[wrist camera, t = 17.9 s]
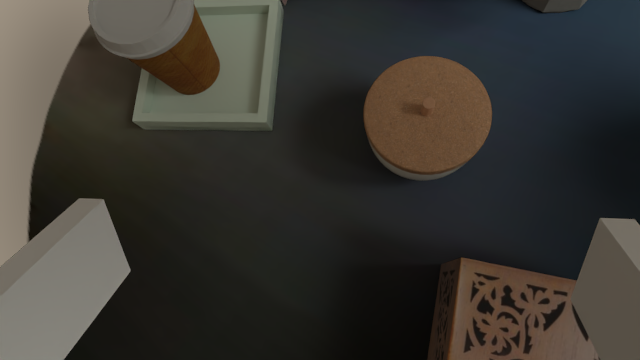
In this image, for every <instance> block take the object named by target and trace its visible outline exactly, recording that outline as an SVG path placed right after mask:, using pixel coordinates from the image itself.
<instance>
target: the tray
mask: <svg viewBox="0 0 640 360" xmlns="http://www.w3.org/2000/svg"><path fill="white" fill-rule="evenodd" d="M194 5H195V7H196V9H197V12H198V14H199V16H200V18H201V21H202V23H203V25H204V27H205V29H206V32H207V34H208V36H209V38H210V41H211V43H212V45H213V47H214V49H215V52H216V54H217V56H218V58H219V61H220V71H219V75H218V77H217V79H216V81H215V82H214V83H213V85H211V86H210V87H209V88H208V89H207V90H205V91H203V92H201V93H199V94H194V95H185V94H181V93H179V92H177V91H175V90H174V89H173V88H171V87H170V86H168V85H167V84H165V83H164V82H162V81H161V80H159V79H158V78H156V77H155V76H153V75H151V74H150V73H149V72H147V71H145V70H144V69H143V68H142V69H141V75H140V80H139V86H138V91H137V97H136V102H135V108H134V113H133V119H132V122H134V123H135V124H137V125H138V126H140V127H141V128H143V129H144V130H223V131H272V129H273V118H274V108H275V97H276V87H277V77H278V66H279V56H280V45H281V35H282V24H283V14H284V10H283V7H282V5H281V2H280V0H194Z"/></svg>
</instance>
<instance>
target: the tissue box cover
mask: <svg viewBox="0 0 640 360" xmlns="http://www.w3.org/2000/svg"><path fill="white" fill-rule="evenodd" d="M576 282H577V281H576V280H571V279H566V278H561V277H556V276H551V275H546V274H541V273H536V272H531V271H526V270H521V269H517V268H512V267H507V266H502V265H497V264H492V263H487V262H482V261H477V260H472V259H467V258H462V257H461V258H458V259H455V260H452V261H449V262H446V263H443V264H441V269H440V276H439V283H438V290H437V297H436V303H435V310H434V317H433V324H432V330H431V337H430V344H429V351H428V358H427V360H600V358H599V356H598V354H597V352H596V350H595V348H594V346H593V344H592V342H591V340H590V338H589V336H588V334H587V332H586V330H585V328H584V326H583V324H582V322H581V320H580V318H579V316H578V314H577V312H576V310H575V308H574V306H573V304H572V302H571V300H570V299H571V296H572V293H573V290H574V288H575V285H576Z"/></svg>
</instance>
